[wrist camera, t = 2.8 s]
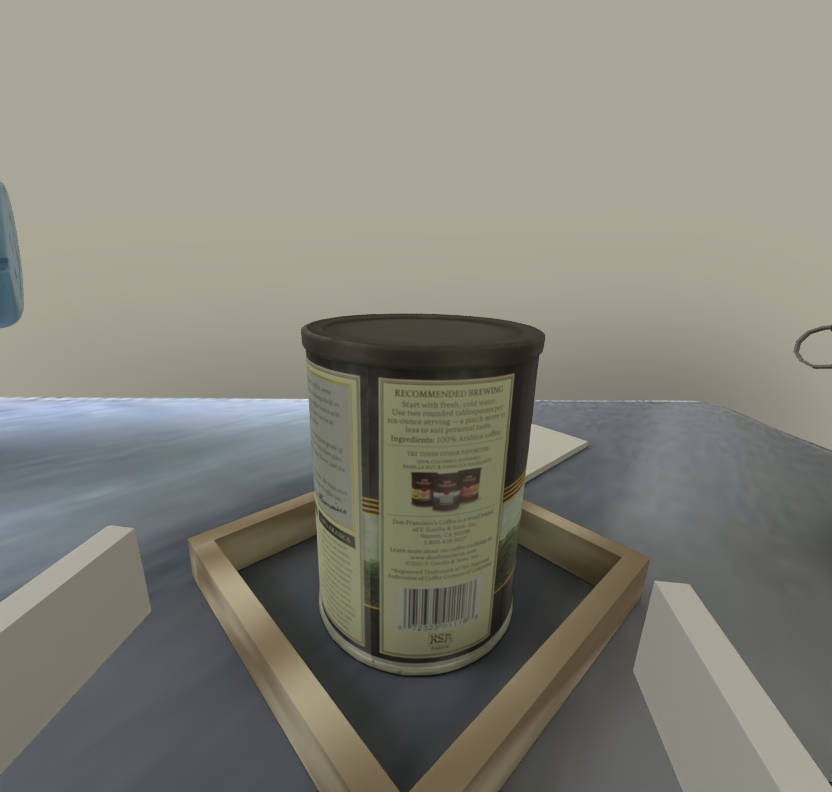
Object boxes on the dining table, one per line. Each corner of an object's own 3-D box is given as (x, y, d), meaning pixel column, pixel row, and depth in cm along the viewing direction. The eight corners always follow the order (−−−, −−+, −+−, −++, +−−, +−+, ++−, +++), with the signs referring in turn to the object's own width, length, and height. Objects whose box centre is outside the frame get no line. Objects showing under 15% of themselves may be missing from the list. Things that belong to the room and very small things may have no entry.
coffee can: (429, 513, 29) (438, 309, 25) (554, 606, 21) (597, 332, 17) (286, 571, 23) (265, 317, 19) (385, 731, 15) (388, 359, 11)
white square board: (371, 438, 41) (371, 433, 41) (468, 408, 51) (469, 403, 51) (494, 500, 31) (495, 493, 31) (586, 446, 41) (587, 441, 41)
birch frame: (193, 578, 23) (187, 538, 22) (419, 479, 34) (420, 450, 33) (399, 926, 11) (400, 867, 10) (640, 598, 22) (649, 558, 21)
